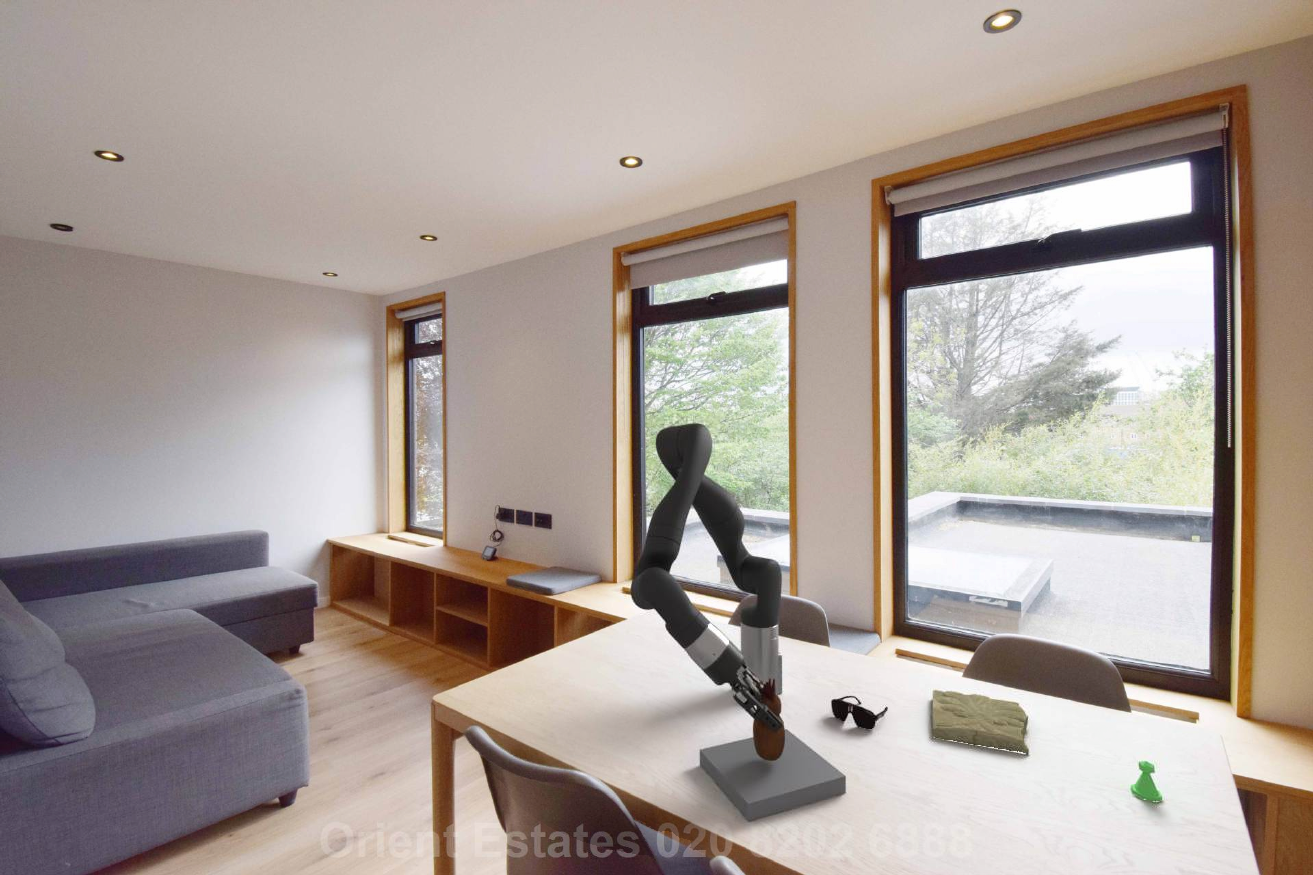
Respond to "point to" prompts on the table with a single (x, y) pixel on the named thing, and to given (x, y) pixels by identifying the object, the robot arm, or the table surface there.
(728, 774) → the block
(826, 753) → the table surface
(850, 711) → the sunglasses
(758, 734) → the wooden figurine
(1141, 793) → the game piece
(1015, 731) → the decorative tile
